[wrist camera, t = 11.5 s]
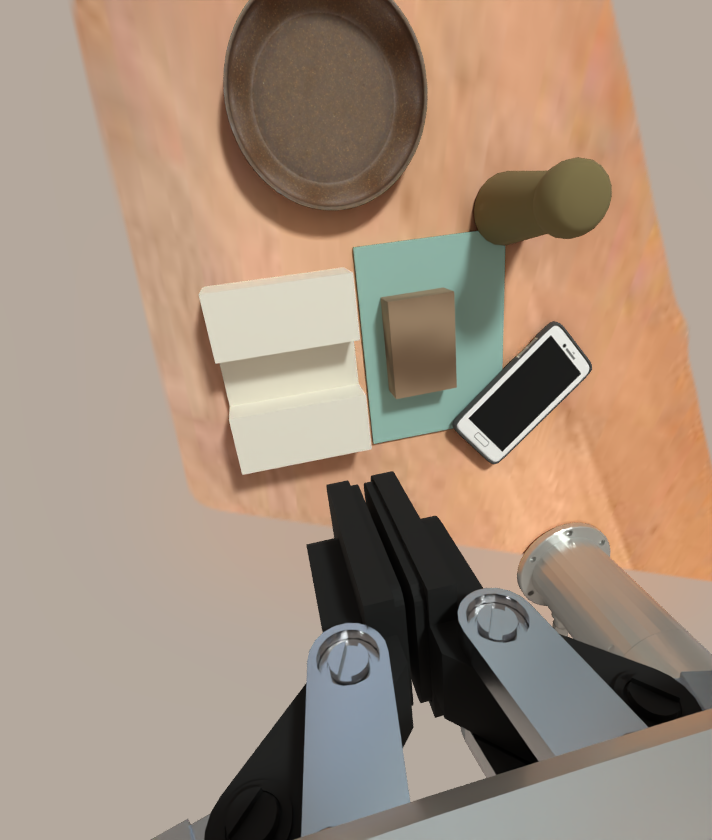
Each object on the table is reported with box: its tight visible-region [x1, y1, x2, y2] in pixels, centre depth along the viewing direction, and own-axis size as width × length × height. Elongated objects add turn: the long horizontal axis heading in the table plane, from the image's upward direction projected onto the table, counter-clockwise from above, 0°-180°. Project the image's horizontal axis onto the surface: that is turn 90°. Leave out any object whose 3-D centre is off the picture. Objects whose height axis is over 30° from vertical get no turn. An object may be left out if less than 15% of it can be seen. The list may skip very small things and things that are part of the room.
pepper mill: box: [474, 157, 612, 246], centre depth 37 cm, size 6×6×11 cm
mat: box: [353, 231, 505, 444], centre depth 46 cm, size 19×14×1 cm
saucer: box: [224, 0, 427, 210], centre depth 36 cm, size 15×15×3 cm
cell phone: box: [452, 321, 592, 464], centre depth 50 cm, size 8×15×1 cm, turn 135°
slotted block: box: [199, 267, 372, 475], centre depth 42 cm, size 16×12×4 cm
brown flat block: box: [380, 287, 457, 399], centre depth 44 cm, size 9×6×2 cm, turn 7°
